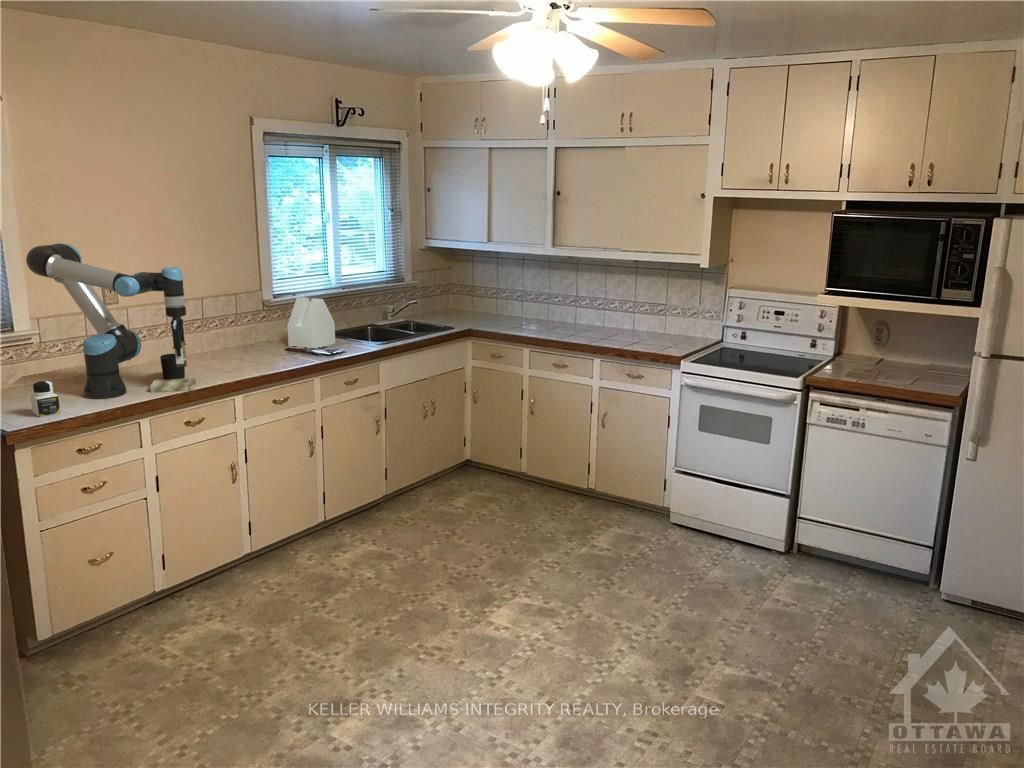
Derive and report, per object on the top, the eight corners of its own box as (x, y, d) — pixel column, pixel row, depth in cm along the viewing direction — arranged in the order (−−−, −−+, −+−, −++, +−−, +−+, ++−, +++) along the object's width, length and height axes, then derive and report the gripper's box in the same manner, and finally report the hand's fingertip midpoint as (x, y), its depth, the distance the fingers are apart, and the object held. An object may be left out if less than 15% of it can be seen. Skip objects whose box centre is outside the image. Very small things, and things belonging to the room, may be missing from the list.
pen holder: (186, 375, 346) (184, 353, 343) (184, 380, 337) (182, 357, 334) (163, 376, 343) (161, 354, 340) (161, 381, 334) (159, 358, 332)
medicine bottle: (39, 417, 282) (34, 385, 278) (32, 413, 286) (27, 382, 283) (60, 413, 287) (56, 382, 284) (53, 409, 291) (49, 378, 288)
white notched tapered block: (312, 340, 424) (310, 294, 418) (335, 343, 418) (333, 297, 411) (288, 346, 407) (285, 299, 401) (312, 349, 401) (309, 301, 395)
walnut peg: (175, 367, 319) (172, 343, 316) (177, 365, 322) (174, 341, 320) (186, 367, 320) (183, 343, 317) (187, 364, 323) (185, 341, 321)
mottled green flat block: (151, 392, 317) (150, 385, 316) (155, 386, 325) (154, 379, 324) (192, 390, 320) (192, 383, 319) (196, 385, 329) (195, 378, 328)
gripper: (181, 309, 308) (187, 366, 313) (188, 302, 324) (194, 357, 330) (161, 309, 306) (167, 367, 312) (169, 303, 322) (175, 358, 328)
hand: (181, 362), depth 321 cm, fingers closed on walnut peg, 4 cm apart
